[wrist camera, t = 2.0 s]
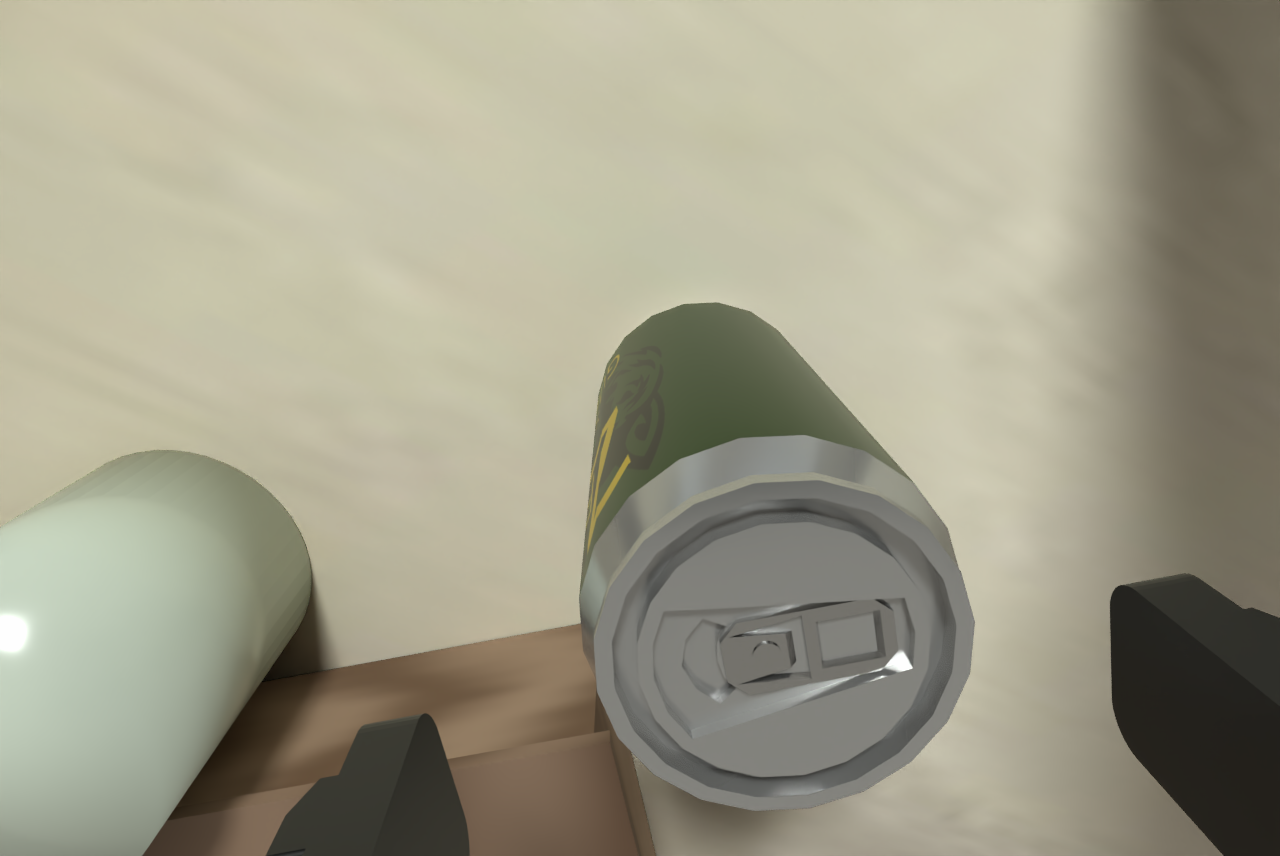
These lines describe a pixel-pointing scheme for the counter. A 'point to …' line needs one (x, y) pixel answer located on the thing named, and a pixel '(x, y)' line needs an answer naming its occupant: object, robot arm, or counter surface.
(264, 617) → the pale green capsule
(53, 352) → the counter surface
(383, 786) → the robot arm
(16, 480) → the counter surface
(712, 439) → the beer can
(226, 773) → the podium
